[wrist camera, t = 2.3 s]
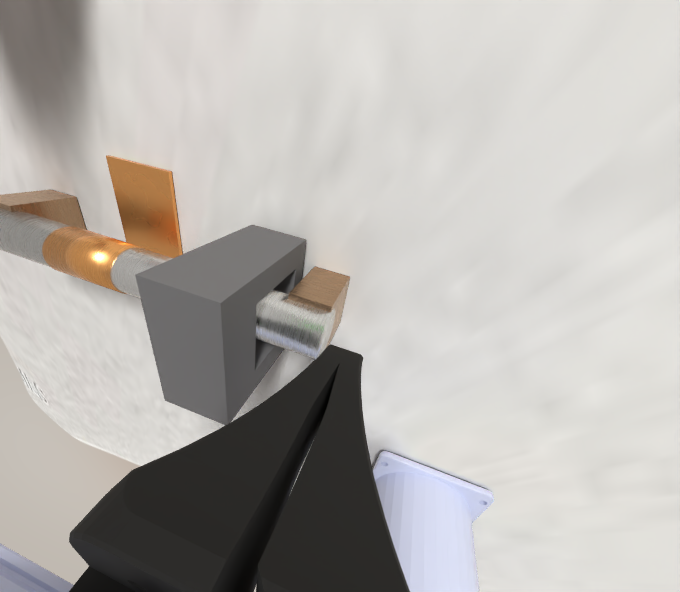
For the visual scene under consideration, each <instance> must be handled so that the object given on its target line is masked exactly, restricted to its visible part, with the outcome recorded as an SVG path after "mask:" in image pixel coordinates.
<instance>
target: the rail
mask: <svg viewBox="0 0 680 592" xmlns="http://www.w3.org/2000/svg"><path fill="white" fill-rule="evenodd" d="M106 158H107V163H108V167H109V171H110V175H111V179H112V183H113V188H114V192H115V196H116V200H117V204H118V208H119V213H120V217H121V221H122V225H123V229H124V234H125V238H126V242H127V243H126V242H123V241H120V240H117V239H114V238H110V237H107V236H104V235H101V234H98V233H94V232H91V231H88V230H86V227H85V224H84V221H83V217H82V214H81V211H80V208H79V205H78V201H77V198H76V197H75V196H71V195H68V194H64V193H61V192H58V191H54V190H43V191H33V192H24V193H14V194H5V195H0V250H3V251H6V252H8V253H11V254H14V255H17V256H20V257H23V258H26V259H29V260H31V261H34V262H37V263H40V264H43V265H46V266H49V267H52V268H53V269H55V270H57V271H60V272H63V273H66V274H69V275H72V276H75V277H77V278H80V279H83V280H86V281H89V282H92V283H95V284H98V285H100V286H103V287H106V288H109V289H112V290H115V291H118V292H120V293H124V294H129V295H132V296H135V297H138V298H141V297H140V293H139V289H138V285H137V281H136V276H135V275H136V274H138V273H140V272H143V271H145V270H147V269H150V268H152V267H154V266H157V265H159V264H161V263H164V262H166V261H168V260H171V259H173V258H175V257H178V256H180V255H182V247H181V239H180V232H179V224H178V217H177V209H176V201H175V194H174V186H173V179H172V171H168V170H164V169H160V168H156V167H152V166H148V165H144V164H140V163H137V162H133V161H129V160H125V159H121V158H117V157H113V156H106ZM349 280H350V277H349V276H345V275H342V274H339V273H335V272H332V271H328V270H325V269H322V268H318V267H314V268H313V269H312V270H311V271H310V272H309V273H308V274H307V275H306V276H305V277H304V278H303V279H302V280H301V281H300V282H299V283H298V284H297V285H296V286H295V287H294V288H293V289H292V290H291V291H290V292H289V294H286V293H283V292H280V291H276V290H272V291H270V292H269V293H268V294H267V295H266V296H265V297H264V298H263V299H262V300H260V301H259V302H258V303H257V304H256V339H259V340H262V341H265V342H268V343H271V344H273V345H276V346H279V347H282V348H285V349H288V350H291V351H294V352H296V353H299V354H302V355H305V356H308V357H311V358H314V359H316V358H317V357H318V356H319V355H320V354H321V353H322V352H323V351H324V350H325V349H326V348H327V346H328V345H329V343H330V341H331V339H332V338H333V336H334V334H335V332H336V330H337V328H338V326H339V324H340V321H341V317H342V312H343V308H344V303H345V299H346V294H347V290H348V285H349Z"/></svg>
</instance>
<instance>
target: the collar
mask: <svg viewBox="0 0 680 592" xmlns="http://www.w3.org/2000/svg"><path fill="white" fill-rule="evenodd" d="M305 247H306V239H302V238H299V237H295V236H291V235H288V234H284V233H281V232H277V231H273V230H270V229H266V228H262V227H259V226H255V225H250V226H248V227H246V228H243V229H241V230H239V231H236V232H234V233H232V234H229V235H227V236H225V237H222V238H220V239H218V240H215V241H213V242H211V243H208V244H206V245H204V246H201V247H199V248H196V249H194V250H192V251H189V252H187V253H185V254H182V255H180V256H178V257H175V258H173V259H171V260H168V261H166V262H164V263H161V264H159V265H157V266H154V267H152V268H150V269H147V270H145V271H143V272H140V273H138V274H136V275H135V276H136V281H137V285H138V289H139V293H140V297H141V302H142V306H143V310H144V314H145V318H146V323H147V327H148V331H149V335H150V340H151V344H152V348H153V352H154V356H155V361H156V365H157V369H158V373H159V377H160V382H161V386H162V390H163V394H164V398H165V401H168V402H170V403H173V404H175V405H178V406H180V407H182V408H185V409H187V410H190V411H192V412H195V413H197V414H200V415H202V416H204V417H207V418H209V419H212V420H214V421H217V422H219V423H222V424H224V425H228V424H229V423H230V422H231V421H232V420H233V418H234V417H235V415H236V414H237V413H238V411H239V410H240V409H241V407H242V406H243V404H244V403H245V402H246V400H247V399H248V398H249V396H250V395H251V393H252V392H253V391H254V389H255V388H256V387H257V385H258V384H259V382H260V381H261V380H262V378H263V377H264V376H265V374H266V373H267V371H268V370H269V369H270V367H271V366H272V364H273V363H274V362H275V360H276V359H277V358H278V356H279V355H280V353H281V352H282V351H283V349H284V348H282V347H279V346H276V345H273V344H271V343H268V342H265V341H262V340H259V339H256V304H257V303H258V302H259V301H260V300H262V299H263V298H264V297H265V296H266V295H267V294H268V293H269V292H270V291H272V290H276V291H280V292H283V293H286V294H289V292H290V291H291V290H292V289H293V288H294V287H295V286H296V285H297V284H298V283H299V282H300V281H301V280H302V272H303V264H304V255H305Z"/></svg>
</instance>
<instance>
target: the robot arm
mask: <svg viewBox="0 0 680 592" xmlns="http://www.w3.org/2000/svg"><path fill="white" fill-rule="evenodd" d="M362 361H363V357H362V355H361V354H358V353H355V352H352V351H349V350H346V349H343V348H340V347H337V346H334V345H329V346H327V348H326V349H325V350H324V351H323V352H322V353H321V354H320V355H319V356H318V357H317V358H316V359H315V360H314V361H313V362H312V363H311V364H310V365H309V366H308V367H307V368H306V369H305V370H304V371H302V372H301V373H300V374H299V375H298V376H297V377H296V378H295V379H293V380H292V381H291V382H290V383H288V384H287V385H286V386H284V387H283V388H282V389H281V390H279V391H278V392H277V393H276V394H274V395H273V396H271V397H270V398H269V399H267V400H266V401H264V402H263V403H261V404H260V405H258V406H257V407H255V408H254V409H252V410H251V411H249V412H248V413H246V414H244V415H243V416H241V417H239V418H238V419H236V420H234V421H233V422H231V423H229V424H228V425H226V426H224V427H222V428H220V429H219V430H217V431H215V432H213V433H211V434H209V435H207V436H205V437H203V438H201V439H199V440H197V441H195V442H193V443H191V444H190V445H188V446H185V447H183V448H181V449H179V450H177V451H175V452H172V453H170V454H168V455H166V456H163V457H161V458H159V459H157V460H154V461H152V462H150V463H147V464H145V465H143V466H141V467H138V468H136V469H134V470H132V471H131V472H130V473H129V474H128V475H126V476H125V477H124V478H123V479H122V480H121V481H120V482H119V483H118V484H117V485H115V486H114V487H113V488H112V489H111V490H110V491H109V492H108V493H107V494H106V495H105V496H104V497H103V498H102V499H101V500H100V501H99V502H98V504H97V505H96V506H95V507H94V508H93V509H92V510H91V511H90V512H89V513H88V514H87V515H86V516H85V517H84V519H83V520H82V521H81V522H80V523H79V524H78V525H77V526H76V527H75V528H74V529H73V530H72V531H71V533H70V538H69V542H70V544H71V545H72V547H73V548H74V549H75V550H76V551H77V552H78V553H79V555H80V556H81V557H82V558H83V559H84V560H85V561H86V563H88V565H89V567H88V569H87V570H86V571H85V572H84V573H83V575H82V576H81V577H80V578H79V580H78V581H77V582H76V583H75V585H73V584H71V583H69V582H67V581H66V580H64V579H62V578H60V577H59V576H57V575H55V574H53V573H52V572H50V571H48V570H46V569H44V568H43V567H41V566H39V565H37V564H36V563H33V562H32V561H30V560H28V559H27V558H25V557H23V556H21V555H20V554H18V553H16V552H14V551H13V550H11V549H9V548H7V547H5V546H4V545H2V544H0V592H254V589H255V586H256V584H257V587H256V592H480V590H479V581H478V573H477V564H476V556H475V547H474V538H473V530H472V523H473V522H474V521H475V520H476V519H477V518H478V517H479V516H480V515H481V514H482V513H483V512H484V511H485V510H486V509H487V508H488V507H489V506H490V505H491V504H492V503H493V502H494V496H493V493H492V492H491V491H489V490H486V489H484V488H481V487H479V486H476V485H473V484H471V483H468V482H466V481H463V480H460V479H458V478H455V477H453V476H450V475H447V474H445V473H442V472H440V471H437V470H435V469H432V468H429V467H427V466H424V465H422V464H419V463H416V462H414V461H411V460H409V459H406V458H403V457H401V456H398V455H396V454H393V453H390V452H388V451H382V452H381V453H380V454H379V457H378V459H377V461H376V463H375V465H374V467H373V470H372V465H371V461H370V456H369V451H368V446H367V440H366V434H365V427H364V420H363V411H362V399H361V367H362ZM314 438H315V439H314ZM313 440H314V441H313ZM312 442H313V443H312ZM311 444H312V446H311ZM310 447H311V448H310ZM309 449H310V450H309ZM308 451H309V453H308ZM307 453H308V455H307ZM306 455H307V457H306ZM305 457H306V460H305V462H304V464H303V467H302V469H301V471H300V473H299V476H298V478H297V480H296V477H297V475H298V472H299V470H300V468H301V465H302V463H303V461H304V459H305ZM295 480H296V482H295ZM294 482H295V485H294ZM293 485H294V487H293ZM292 487H293V489H292ZM291 490H292V491H291ZM290 493H291V494H290ZM289 495H290V496H289Z"/></svg>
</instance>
